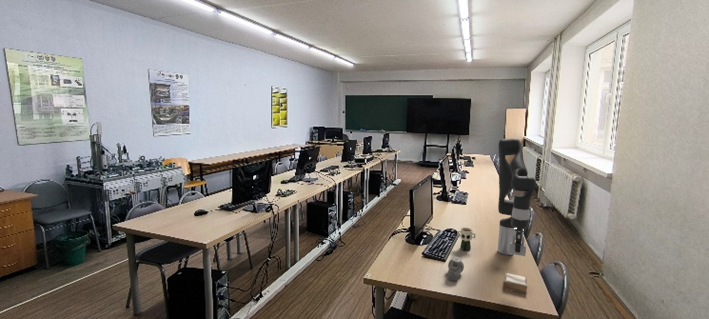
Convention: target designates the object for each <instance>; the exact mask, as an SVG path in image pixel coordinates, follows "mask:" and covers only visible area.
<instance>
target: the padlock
mask: <svg viewBox="0 0 709 319" xmlns="http://www.w3.org/2000/svg"><path fill="white" fill-rule="evenodd" d="M525 241H526V240H525V237H524V236H523V240H522V241H521V247H520V253H518V252H515V243H516V240H515V235H513V238H512V242H510V247H509V253H512V255H516V256H521V257H525V256H526V254H527V244H525Z"/></svg>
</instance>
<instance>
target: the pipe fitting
mask: <svg viewBox="0 0 709 319" xmlns="http://www.w3.org/2000/svg"><path fill="white" fill-rule="evenodd" d="M447 267H448V270H447V273H446V277H447V279H448V280H449V281H450V282H456V281H458V280H459V279H460V278H459V277H460V274H462V273H463V271H464V267H465V265H464V262H462V259H461V258H460V257H458V256H453V257H451V259H449V261H448V265H447Z"/></svg>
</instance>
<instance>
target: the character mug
mask: <svg viewBox="0 0 709 319" xmlns="http://www.w3.org/2000/svg"><path fill="white" fill-rule="evenodd" d="M456 236H458V237H460V240H461V242H460V246H459V247H460V249H461V250H465V251H470V250H471V247H472V246H471V241H472V239H476V233H474V232H473V229H472V228H470V227H461V228H460V230H457V235H456Z"/></svg>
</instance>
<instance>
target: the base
mask: <svg viewBox="0 0 709 319" xmlns="http://www.w3.org/2000/svg"><path fill="white" fill-rule="evenodd" d="M506 289H507V290H508V291H511V290H512V292H515V291H516V293H519V292H520V294H525V295H527V293H528V292H527V290H528V277H527V276H524V275H519V274H513V273H508V272H505V273H504V281H503V290H506Z"/></svg>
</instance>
